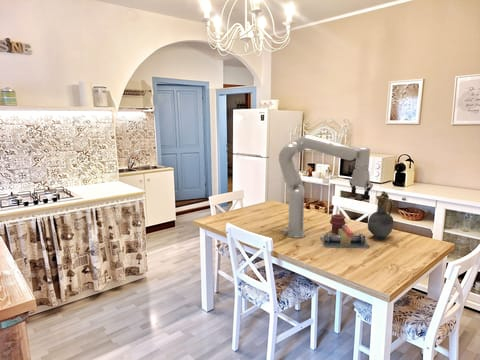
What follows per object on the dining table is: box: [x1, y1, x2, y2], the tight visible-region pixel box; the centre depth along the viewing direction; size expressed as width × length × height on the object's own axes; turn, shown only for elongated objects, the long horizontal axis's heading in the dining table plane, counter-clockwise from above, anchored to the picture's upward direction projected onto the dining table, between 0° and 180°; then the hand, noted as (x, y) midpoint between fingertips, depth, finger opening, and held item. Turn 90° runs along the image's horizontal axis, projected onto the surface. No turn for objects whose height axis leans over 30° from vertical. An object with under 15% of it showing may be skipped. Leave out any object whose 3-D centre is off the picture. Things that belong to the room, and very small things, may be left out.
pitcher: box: [367, 190, 394, 241], centre depth 202 cm, size 11×19×30 cm, turn 124°
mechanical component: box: [329, 213, 347, 235], centre depth 212 cm, size 12×10×10 cm
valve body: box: [320, 229, 371, 249], centre depth 195 cm, size 26×14×8 cm, turn 87°
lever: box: [342, 224, 354, 238], centre depth 189 cm, size 14×3×3 cm, turn 177°
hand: (359, 195), depth 196 cm, fingers open, 9 cm apart
